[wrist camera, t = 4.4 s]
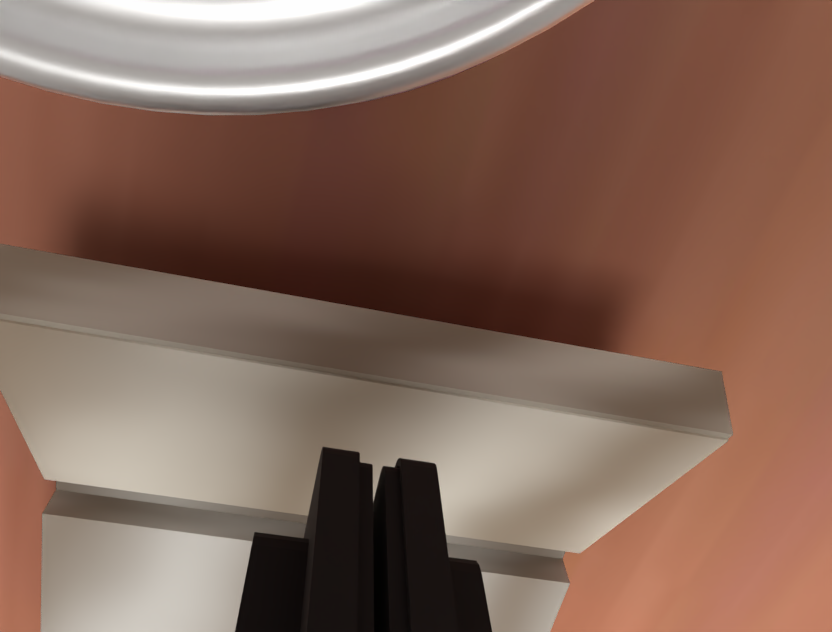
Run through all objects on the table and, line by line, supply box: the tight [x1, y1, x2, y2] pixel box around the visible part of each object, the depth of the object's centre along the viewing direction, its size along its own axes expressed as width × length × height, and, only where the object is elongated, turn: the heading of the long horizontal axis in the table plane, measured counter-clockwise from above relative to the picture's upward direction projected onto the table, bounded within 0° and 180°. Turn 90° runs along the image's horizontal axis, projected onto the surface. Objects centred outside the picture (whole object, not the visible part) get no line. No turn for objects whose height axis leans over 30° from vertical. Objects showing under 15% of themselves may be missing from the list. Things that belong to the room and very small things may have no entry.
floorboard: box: [41, 481, 570, 632], centre depth 24 cm, size 15×8×2 cm, turn 78°
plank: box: [0, 244, 733, 553], centre depth 19 cm, size 15×8×2 cm
